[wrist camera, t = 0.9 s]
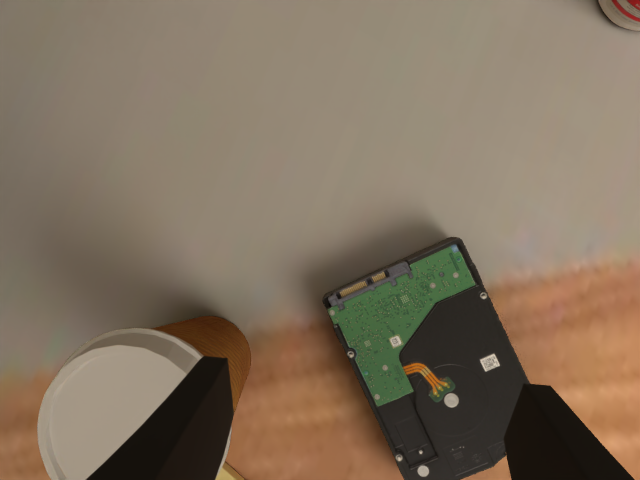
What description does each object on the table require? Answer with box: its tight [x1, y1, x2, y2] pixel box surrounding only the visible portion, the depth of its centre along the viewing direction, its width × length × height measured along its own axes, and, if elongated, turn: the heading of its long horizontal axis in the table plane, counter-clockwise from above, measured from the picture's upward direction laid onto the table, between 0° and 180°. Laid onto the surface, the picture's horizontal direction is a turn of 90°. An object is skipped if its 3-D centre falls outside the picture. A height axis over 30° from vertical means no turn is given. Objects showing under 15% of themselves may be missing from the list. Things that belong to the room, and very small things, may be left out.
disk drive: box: [323, 237, 530, 480], centre depth 29 cm, size 10×3×15 cm
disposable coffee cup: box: [37, 316, 251, 480], centre depth 26 cm, size 10×10×12 cm
